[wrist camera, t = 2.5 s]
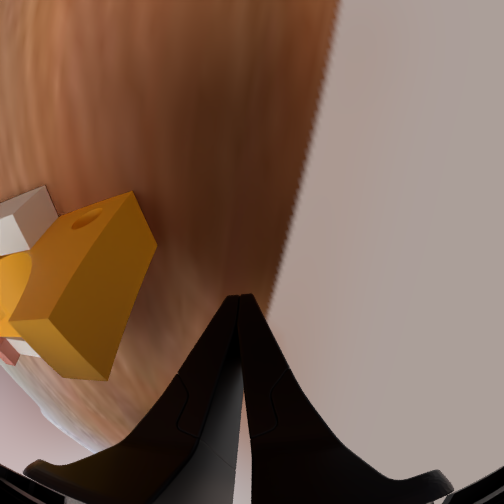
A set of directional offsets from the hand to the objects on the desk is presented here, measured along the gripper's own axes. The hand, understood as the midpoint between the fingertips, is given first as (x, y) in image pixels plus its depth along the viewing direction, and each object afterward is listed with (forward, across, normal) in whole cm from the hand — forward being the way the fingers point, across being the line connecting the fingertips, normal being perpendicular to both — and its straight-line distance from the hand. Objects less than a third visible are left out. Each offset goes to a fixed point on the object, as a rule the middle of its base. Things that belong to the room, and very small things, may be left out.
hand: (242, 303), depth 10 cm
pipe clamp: (+3, +10, -1) cm, 10 cm away
